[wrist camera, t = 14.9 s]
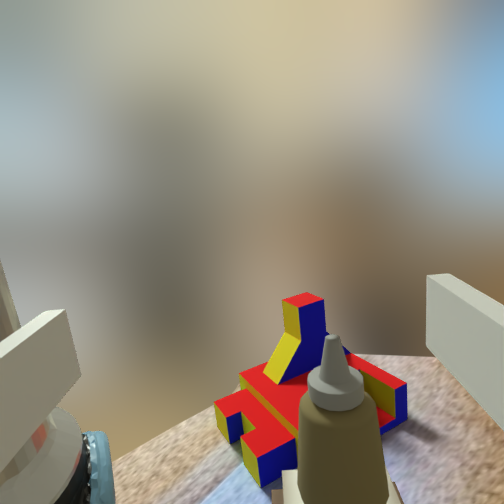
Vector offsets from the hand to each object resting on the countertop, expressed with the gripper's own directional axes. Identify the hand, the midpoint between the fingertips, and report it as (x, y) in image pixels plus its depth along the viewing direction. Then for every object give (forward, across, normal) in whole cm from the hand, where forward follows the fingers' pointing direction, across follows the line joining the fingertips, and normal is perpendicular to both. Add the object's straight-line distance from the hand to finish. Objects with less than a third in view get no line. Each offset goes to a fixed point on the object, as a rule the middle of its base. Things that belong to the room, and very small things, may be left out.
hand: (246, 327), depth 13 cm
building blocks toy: (+38, +5, -36) cm, 53 cm away
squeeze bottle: (+15, +6, -27) cm, 31 cm away
